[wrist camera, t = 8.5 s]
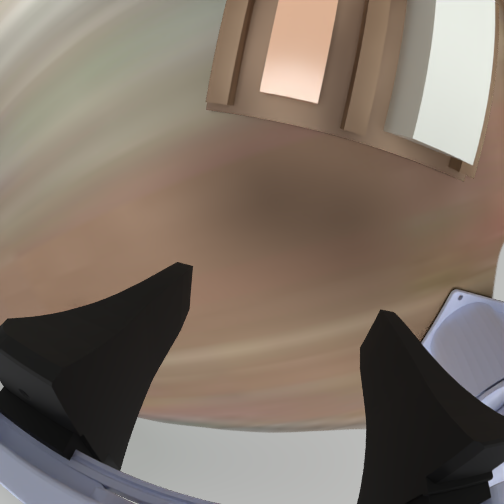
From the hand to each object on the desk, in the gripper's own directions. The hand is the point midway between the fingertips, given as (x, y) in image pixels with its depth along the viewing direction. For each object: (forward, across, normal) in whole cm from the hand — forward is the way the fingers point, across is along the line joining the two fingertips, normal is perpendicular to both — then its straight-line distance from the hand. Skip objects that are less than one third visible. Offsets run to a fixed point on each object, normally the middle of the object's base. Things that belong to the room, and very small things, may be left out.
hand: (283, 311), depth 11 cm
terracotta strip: (+9, +2, -13) cm, 16 cm away
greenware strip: (+9, -6, -13) cm, 17 cm away
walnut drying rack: (+10, -2, -13) cm, 16 cm away
